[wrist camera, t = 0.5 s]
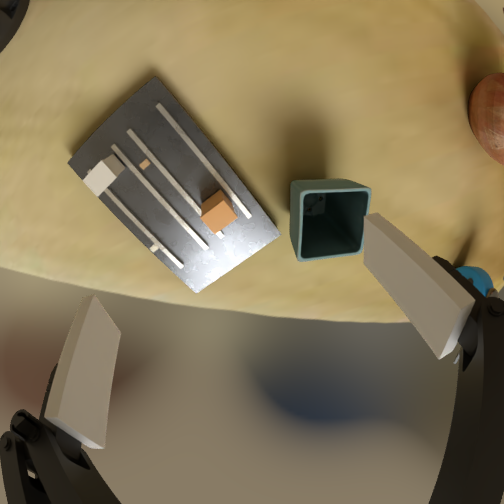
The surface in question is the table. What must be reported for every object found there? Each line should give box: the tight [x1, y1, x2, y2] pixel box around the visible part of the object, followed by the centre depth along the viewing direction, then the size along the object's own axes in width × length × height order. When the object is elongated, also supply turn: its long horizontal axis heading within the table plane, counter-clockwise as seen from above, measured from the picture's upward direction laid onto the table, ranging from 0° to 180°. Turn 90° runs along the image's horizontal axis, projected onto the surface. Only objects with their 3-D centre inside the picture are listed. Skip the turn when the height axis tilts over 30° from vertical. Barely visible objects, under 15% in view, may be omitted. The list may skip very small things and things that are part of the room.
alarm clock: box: [456, 266, 499, 298], centre depth 48 cm, size 13×6×15 cm, turn 170°
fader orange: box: [200, 189, 238, 234], centre depth 32 cm, size 3×3×4 cm
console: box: [68, 76, 281, 293], centre depth 33 cm, size 26×15×3 cm, turn 35°
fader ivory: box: [83, 154, 125, 197], centre depth 27 cm, size 3×3×4 cm
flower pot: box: [290, 179, 371, 262], centre depth 34 cm, size 9×9×9 cm
